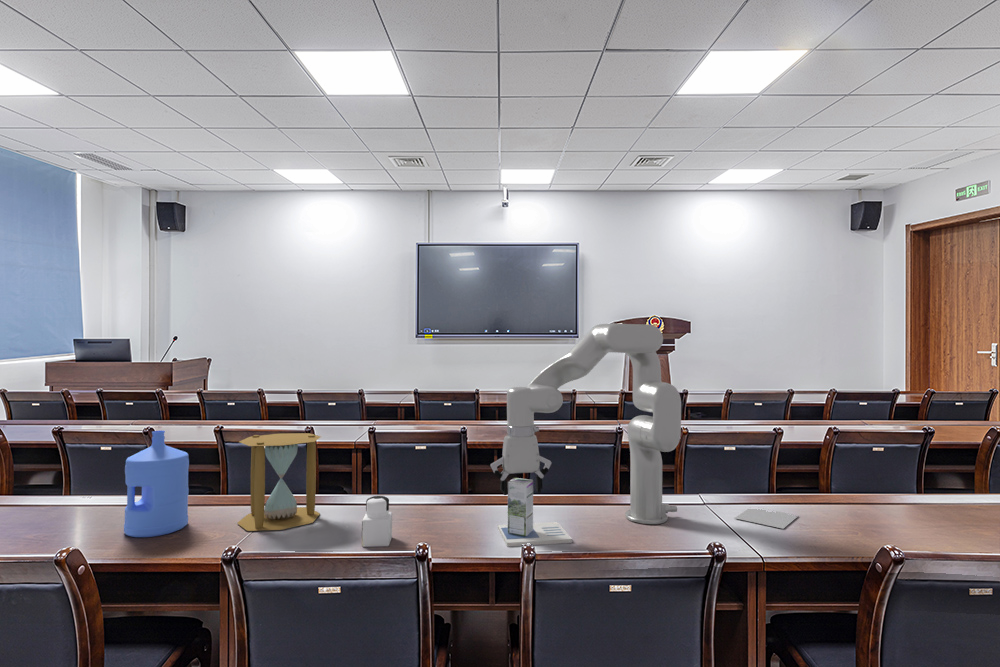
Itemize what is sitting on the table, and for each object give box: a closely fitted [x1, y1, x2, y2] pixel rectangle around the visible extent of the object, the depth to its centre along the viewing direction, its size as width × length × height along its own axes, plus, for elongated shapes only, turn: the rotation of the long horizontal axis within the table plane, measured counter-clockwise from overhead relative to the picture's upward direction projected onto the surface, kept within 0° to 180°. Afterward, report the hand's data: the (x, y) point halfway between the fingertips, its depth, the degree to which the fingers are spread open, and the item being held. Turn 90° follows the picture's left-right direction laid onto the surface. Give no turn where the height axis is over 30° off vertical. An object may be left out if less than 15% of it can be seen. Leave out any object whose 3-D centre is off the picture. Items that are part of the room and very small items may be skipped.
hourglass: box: [237, 432, 322, 532], centre depth 165 cm, size 24×22×25 cm
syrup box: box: [507, 477, 534, 536], centre depth 151 cm, size 6×6×14 cm
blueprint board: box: [497, 521, 573, 548], centre depth 152 cm, size 18×14×1 cm
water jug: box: [123, 430, 190, 538], centre depth 156 cm, size 16×16×28 cm
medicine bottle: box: [361, 495, 393, 548], centre depth 146 cm, size 7×7×12 cm
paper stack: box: [734, 508, 799, 529], centre depth 162 cm, size 23×25×1 cm
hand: (521, 492), depth 151 cm, fingers open, 9 cm apart
